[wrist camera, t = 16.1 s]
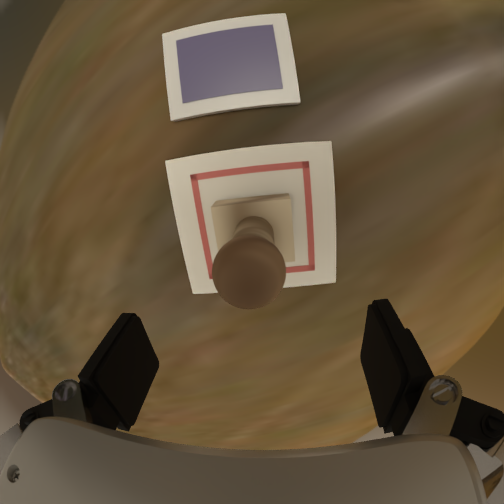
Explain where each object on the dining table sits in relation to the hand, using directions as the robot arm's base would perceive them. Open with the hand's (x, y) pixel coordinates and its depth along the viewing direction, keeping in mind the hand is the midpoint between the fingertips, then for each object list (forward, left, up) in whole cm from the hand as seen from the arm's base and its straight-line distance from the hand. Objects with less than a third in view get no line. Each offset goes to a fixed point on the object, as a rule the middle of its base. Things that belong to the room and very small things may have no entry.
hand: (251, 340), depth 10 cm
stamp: (+1, 0, -16) cm, 16 cm away
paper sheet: (+1, 0, -16) cm, 16 cm away
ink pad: (+1, -15, -16) cm, 22 cm away
